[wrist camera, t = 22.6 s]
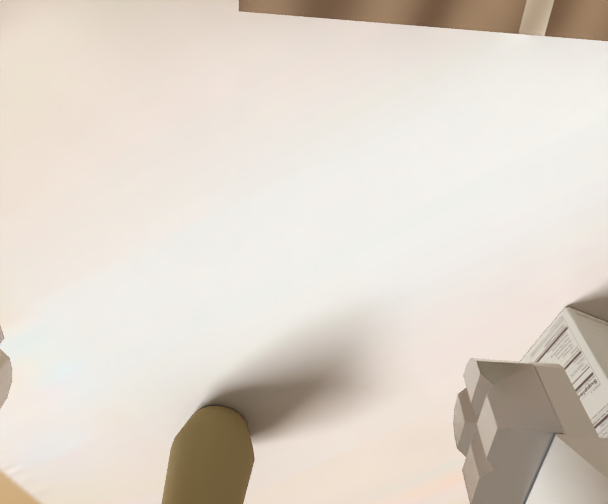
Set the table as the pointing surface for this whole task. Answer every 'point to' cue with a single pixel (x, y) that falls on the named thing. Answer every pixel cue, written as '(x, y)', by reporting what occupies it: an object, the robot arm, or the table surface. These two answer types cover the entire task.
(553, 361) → the supplement box
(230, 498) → the squeeze bottle
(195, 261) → the table surface
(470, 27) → the subfloor panel
